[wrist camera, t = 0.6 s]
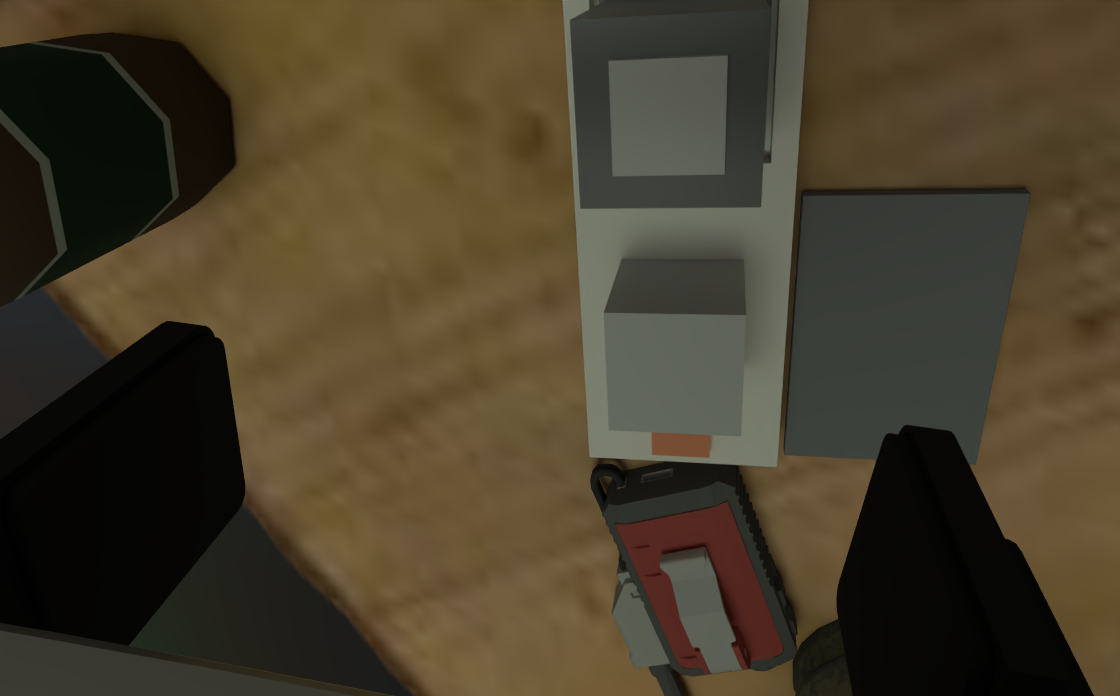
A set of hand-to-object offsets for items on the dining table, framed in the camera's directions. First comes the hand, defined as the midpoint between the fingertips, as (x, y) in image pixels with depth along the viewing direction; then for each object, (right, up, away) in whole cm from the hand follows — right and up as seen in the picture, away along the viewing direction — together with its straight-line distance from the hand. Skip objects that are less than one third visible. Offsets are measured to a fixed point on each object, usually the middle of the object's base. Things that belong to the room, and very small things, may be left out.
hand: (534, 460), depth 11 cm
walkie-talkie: (+8, -11, +31) cm, 34 cm away
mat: (+14, +2, +22) cm, 26 cm away
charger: (+5, +11, +17) cm, 21 cm away
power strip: (+6, +7, +21) cm, 23 cm away
